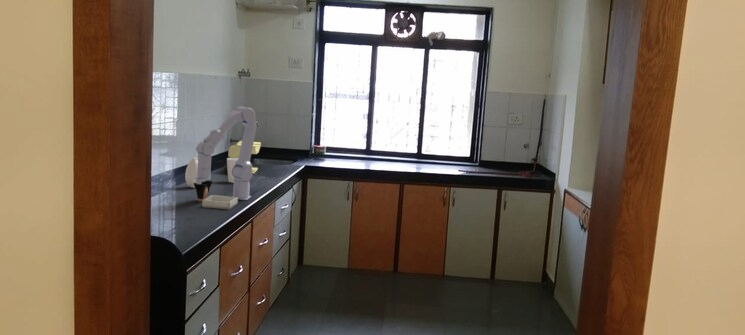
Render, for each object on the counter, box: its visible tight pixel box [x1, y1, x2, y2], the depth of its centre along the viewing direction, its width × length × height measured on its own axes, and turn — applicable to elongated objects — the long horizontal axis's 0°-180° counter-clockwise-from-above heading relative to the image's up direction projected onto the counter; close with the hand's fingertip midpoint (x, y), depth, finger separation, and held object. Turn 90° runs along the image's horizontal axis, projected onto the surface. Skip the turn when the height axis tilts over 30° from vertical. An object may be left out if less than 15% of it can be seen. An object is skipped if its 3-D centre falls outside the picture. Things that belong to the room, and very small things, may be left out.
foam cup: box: [226, 157, 239, 184], centre depth 320 cm, size 10×9×13 cm
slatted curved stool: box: [227, 140, 262, 174], centre depth 365 cm, size 30×16×18 cm, turn 5°
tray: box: [201, 194, 239, 210], centre depth 256 cm, size 14×12×3 cm
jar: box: [197, 187, 208, 203], centre depth 261 cm, size 4×4×7 cm
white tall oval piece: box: [184, 152, 198, 189], centre depth 292 cm, size 8×8×18 cm
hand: (202, 197), depth 262 cm, fingers open, 6 cm apart
